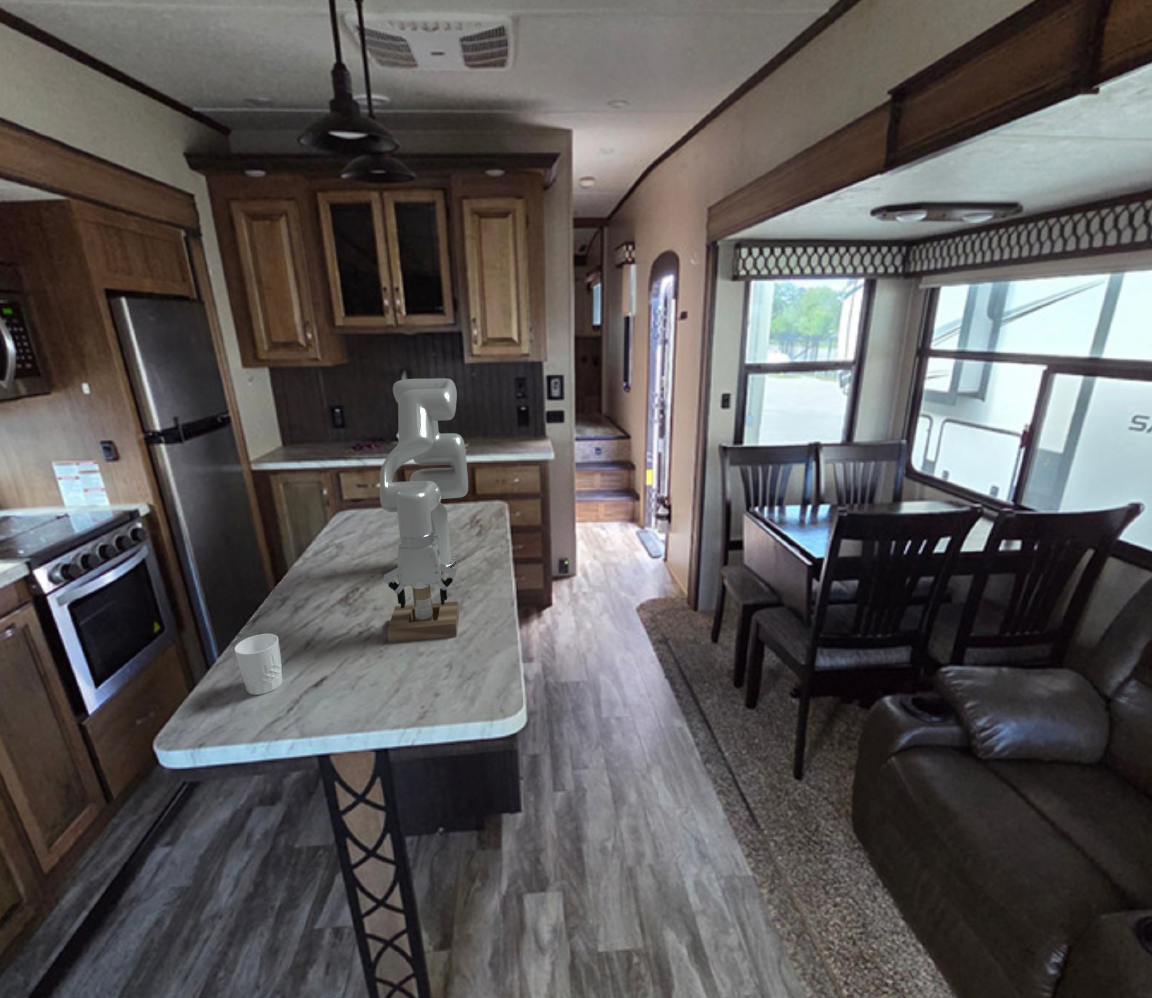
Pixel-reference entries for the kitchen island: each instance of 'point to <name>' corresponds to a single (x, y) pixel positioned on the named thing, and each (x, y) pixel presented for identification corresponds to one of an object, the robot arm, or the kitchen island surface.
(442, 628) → the walnut holder
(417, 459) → the robot arm
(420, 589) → the sprinkles bottle
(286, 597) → the kitchen island surface
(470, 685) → the kitchen island surface
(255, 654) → the white cup
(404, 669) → the kitchen island surface
